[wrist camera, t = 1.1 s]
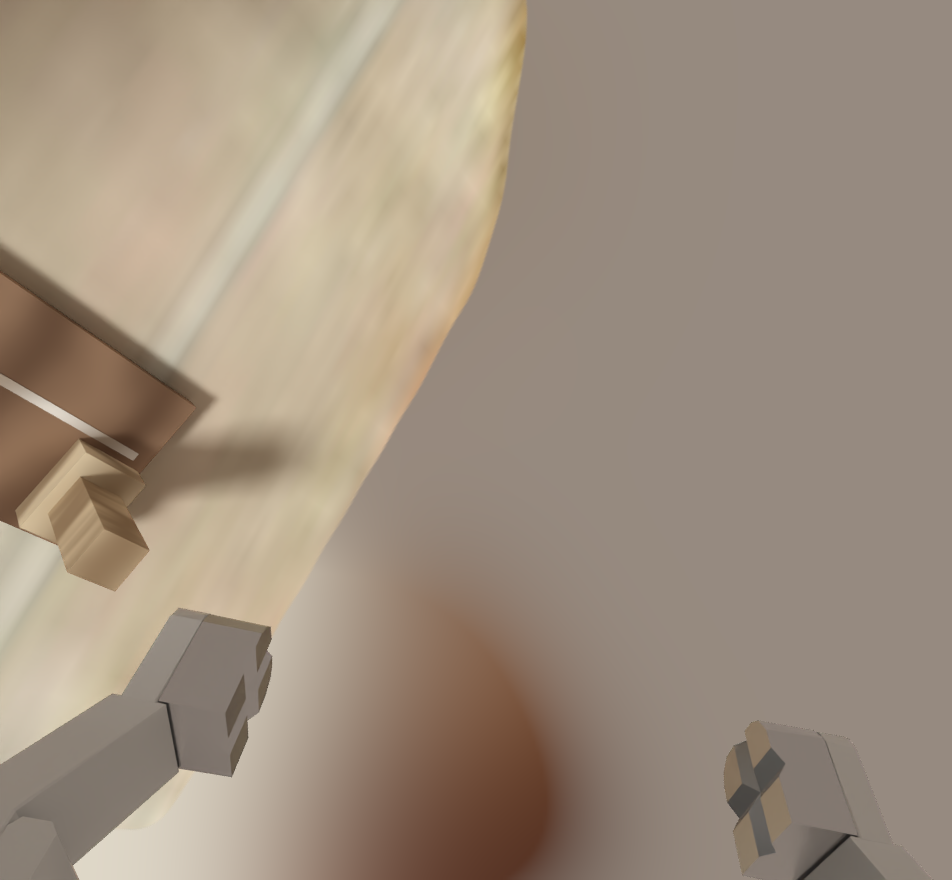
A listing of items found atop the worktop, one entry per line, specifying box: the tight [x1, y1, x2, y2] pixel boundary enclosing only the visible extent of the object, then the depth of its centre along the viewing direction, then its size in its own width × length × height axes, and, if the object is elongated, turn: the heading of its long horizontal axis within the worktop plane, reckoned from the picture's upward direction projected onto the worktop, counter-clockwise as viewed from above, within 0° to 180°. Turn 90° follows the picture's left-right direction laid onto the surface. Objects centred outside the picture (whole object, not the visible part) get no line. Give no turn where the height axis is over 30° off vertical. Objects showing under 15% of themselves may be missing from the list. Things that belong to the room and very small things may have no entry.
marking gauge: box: [15, 439, 150, 591], centre depth 42 cm, size 4×6×10 cm
